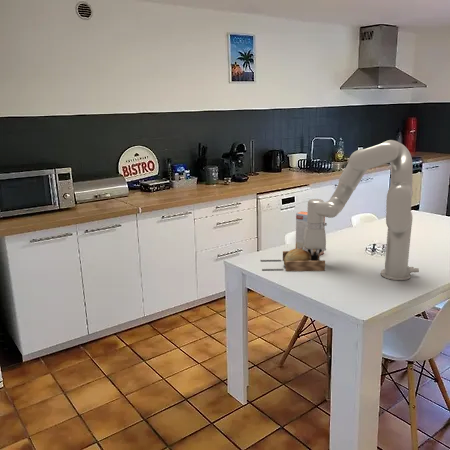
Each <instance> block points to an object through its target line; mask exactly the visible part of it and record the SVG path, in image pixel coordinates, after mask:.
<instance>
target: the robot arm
mask: <svg viewBox="0 0 450 450" xmlns="http://www.w3.org/2000/svg"><path fill="white" fill-rule="evenodd" d="M412 158H413V157H412V155H411V152H410V151H409V149H408V148H407V146H405V145H404V144H403V143H401V142H399V141H397V140H394V139H389V140H386V141H383V142H382V143H379V144H376V145H373V146H370V147H367V148H362V149H361V148H360V149H357V150H355V151H354V152H352V153H351V155H350V156H349V158H348V162H347V165H346V166H345V167H344V169H343V171H342V173H341V174H340V176H339V178H338V183H337V185H336V189H335V190H334V192H333V193H332V195H331V196H330V198H329V199H328V200H327V201H324V200H323V199H321V198H320V199H319V198H311V199H309V200H308V201H307V210H306V212H307V227H306V228H305V232H304V248H303V250H304V251H307V252H309V253H310V254H311V260H310V261H319V260H318V255H319V253H320V252H321V251H324V252H326V251H327V236H326V235H327V234H326V229H325V228H324V226H325V227H327V225H328V224H327V222H325V223H324V217H325V218H329V219H330V218H331V219H332V218H335V217H337V216H338V215H339V213H341V212H342V210H343V209H344V208H345V206H346V205H347V202H349V199H350V198H351V196H352V195H353V193H354V192H355V190H356V189H357V187H358V185H359V183H360V182H361V180H362V179H363V177H364V175H365V174H366V172H367V171H368V170H369V169H374V168H376V167H380V166H383V165H387V164H389V163H390V167H391V168H390V186H389V188H388V191H387V192H386V193H387V194H386V201H385V202H386V205H385V206H386V208H385V209H386V210H385V224H386V227H387V232H386V233H387V234H386V247H385V257H384V258H385V260H384V268H383V269H381V271H380V275H381V276H382V277H383V278H385V279H388V280H391V281H393V280H394V281H407V280H409V279H411V277H412V276H411V274H412V273H419V272H420V268H418V267H414V266H409V257H410V247H411V234H412V227H413V226H412V225H413V212H412V198H413V194H414V191H413V168H414V167H413V159H412ZM313 249H316V251H315V254H314V252H313Z"/></svg>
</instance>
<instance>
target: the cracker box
mask: <svg viewBox="0 0 450 450" xmlns="http://www.w3.org/2000/svg"><path fill="white" fill-rule="evenodd" d="M324 223H326V217H324ZM306 227H307V211H299V212H296V214H295V249H302V250H303V248H304V232H305V228H306ZM325 227H326V226H324V228H325ZM313 251H316V249H313ZM324 252H325V251H321V252H320V256H321V255H323V254H324Z"/></svg>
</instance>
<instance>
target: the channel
mask: <svg viewBox="0 0 450 450" xmlns="http://www.w3.org/2000/svg"><path fill="white" fill-rule="evenodd" d="M289 251H290V250H282V261H283V262H284V258H285V256H286V254H287V253H288V252H289ZM313 252H314V254H315V251H313ZM308 254H309V261H286V266H285V272H322V271H324V272H325V271H326V260H324V259H323V260H320V258H321V257H320V256H321V255H320V253H319V255H318V261H311V254H310V253H309V252H308Z"/></svg>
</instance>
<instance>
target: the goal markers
mask: <svg viewBox="0 0 450 450" xmlns="http://www.w3.org/2000/svg"><path fill="white" fill-rule="evenodd" d="M260 262H282V259H260ZM261 270H262V271H263V272H265V271H268V272H269V271H271V272H272V271H284V270H285V269H284V268H261Z"/></svg>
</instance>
